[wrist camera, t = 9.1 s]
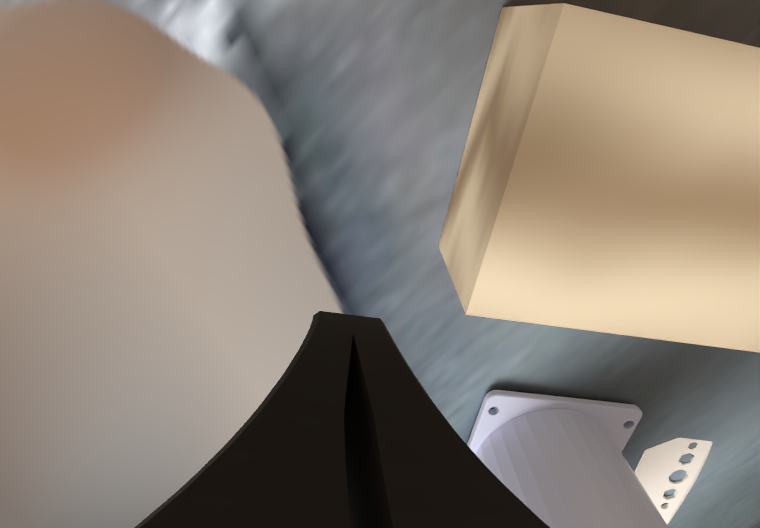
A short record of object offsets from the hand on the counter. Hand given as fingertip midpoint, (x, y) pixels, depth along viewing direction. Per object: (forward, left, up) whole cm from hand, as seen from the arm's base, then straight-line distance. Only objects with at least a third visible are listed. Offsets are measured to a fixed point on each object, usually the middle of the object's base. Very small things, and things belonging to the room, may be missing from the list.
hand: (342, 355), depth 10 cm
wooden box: (+3, -11, -9) cm, 15 cm away
